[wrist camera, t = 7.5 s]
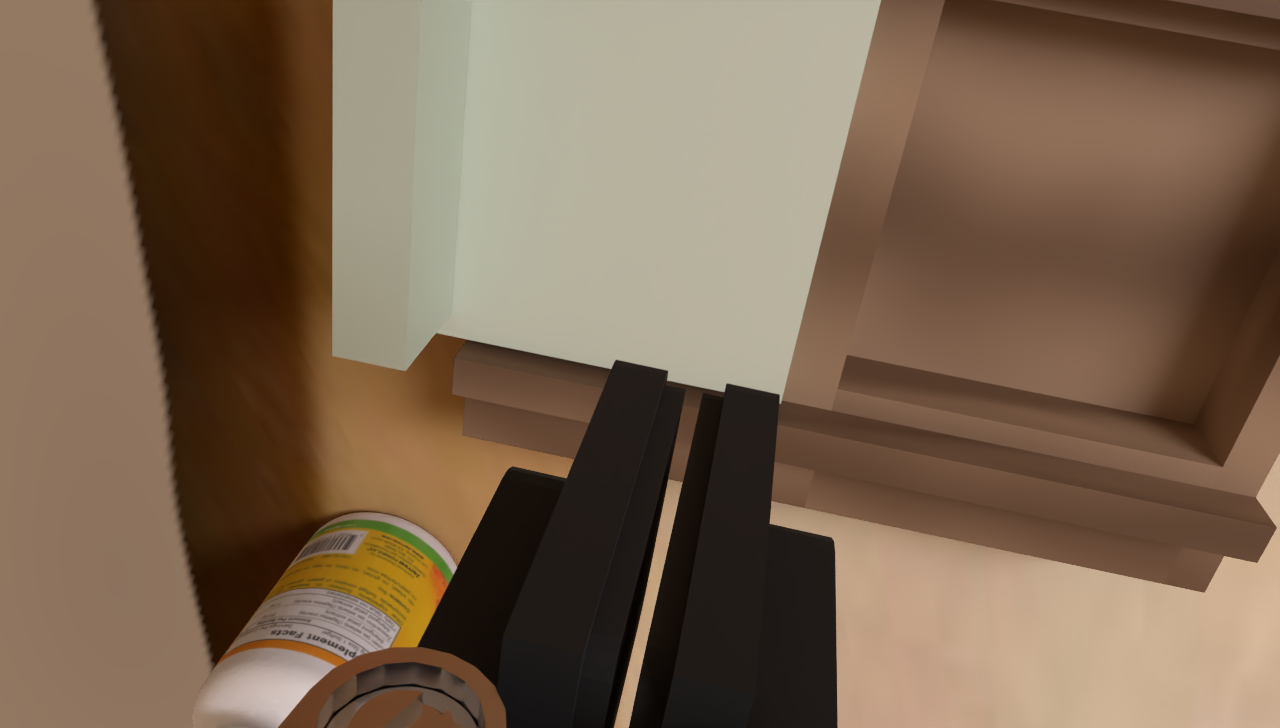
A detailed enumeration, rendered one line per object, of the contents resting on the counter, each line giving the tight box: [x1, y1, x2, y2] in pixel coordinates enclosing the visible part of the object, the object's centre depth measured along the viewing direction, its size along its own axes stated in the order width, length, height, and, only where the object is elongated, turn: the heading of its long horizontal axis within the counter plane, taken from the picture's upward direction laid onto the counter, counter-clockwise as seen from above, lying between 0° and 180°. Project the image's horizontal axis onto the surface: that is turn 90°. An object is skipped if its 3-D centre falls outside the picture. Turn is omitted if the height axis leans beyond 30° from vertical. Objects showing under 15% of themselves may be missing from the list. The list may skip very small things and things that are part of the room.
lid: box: [332, 0, 881, 404], centre depth 20 cm, size 10×10×4 cm
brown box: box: [452, 0, 1280, 592], centre depth 22 cm, size 16×19×4 cm
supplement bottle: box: [192, 512, 457, 728], centre depth 28 cm, size 5×5×10 cm
